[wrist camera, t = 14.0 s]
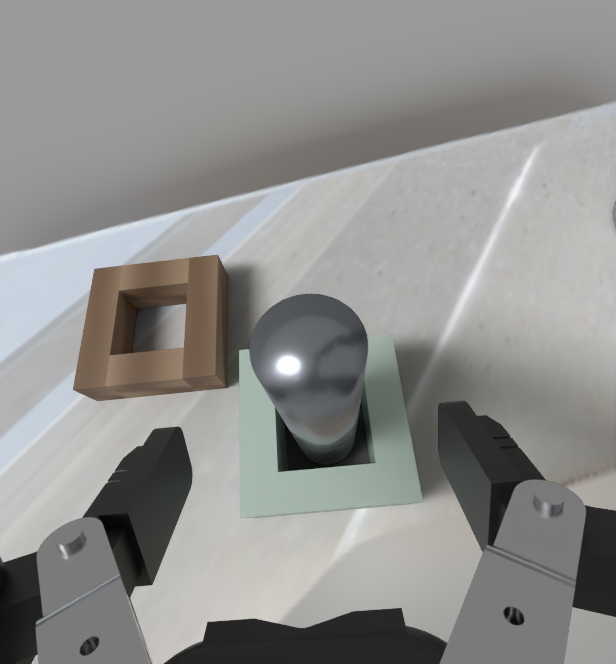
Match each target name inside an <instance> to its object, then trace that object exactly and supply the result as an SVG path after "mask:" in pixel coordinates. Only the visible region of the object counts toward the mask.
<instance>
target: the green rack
mask: <svg viewBox="0 0 616 664" xmlns="http://www.w3.org/2000/svg"><path fill="white" fill-rule="evenodd" d="M367 339H368V356H367V363H366V369H365V376H364V382H363V389H362V396H361V403H362V410H363V417H364V424H365V431H366V439H367V446H368V453H369V460H370V464H361V465H350V466H339V467H328V468H317V469H307V470H296V471H287V455H286V436H285V422H284V420H283V419H282V417H281V416H280V414H279V412H278V411H277V409H276V408H275V406H274V404H273V403H272V401H271V399H270V398H269V396H268V395H267V393H266V391H265V390H264V388H263V386H262V385H261V383H260V382H259V380H258V378H257V377H256V375H255V373H254V371H253V368H252V366H251V361H250V354H249V349H246V350H239V423H240V518H258V517H269V516H281V515H292V514H303V513H315V512H326V511H337V510H349V509H360V508H371V507H383V506H394V505H405V504H413V503H419V502H423V499H422V494H421V488H420V483H419V478H418V472H417V467H416V462H415V456H414V451H413V445H412V440H411V435H410V429H409V424H408V419H407V413H406V408H405V402H404V397H403V392H402V386H401V381H400V375H399V370H398V365H397V359H396V354H395V349H394V343H393V338H392V334H388V335H379V336H369V337H367Z"/></svg>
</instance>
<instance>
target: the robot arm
mask: <svg viewBox="0 0 616 664" xmlns="http://www.w3.org/2000/svg"><path fill="white" fill-rule="evenodd" d="M613 220H614V223H615V226H616V202H615V205H614V209H613ZM438 451H439V457H440V461H441V465H442V467H443V469H444V471H445V474H446V476H447V478H448V480H449V482H450V484H451V486H452V488H453V490H454V493H455V495H456V497H457V499H458V501H459V503H460V505H461V507H462V509H463V512H464V514H465V516H466V518H467V520H468V522H469V524H470V526H471V529H472V531H473V533H474V535H475V537H476V539H477V541H478V543H479V545H480V547H481V550H482V551H483V554H482V557H481V559H480V562H479V564H478V567H477V569H476V572H475V575H474V577H473V580H472V582H471V585H470V588H469V590H468V593H467V595H466V598H465V600H464V603H463V605H462V608H461V610H460V613H459V615H458V618H457V621H456V623H455V626H454V628H453V631H452V633H451V636H450V638H449V641H448V643H446V642H444V641H443V640H441V639H440V638H438V637H436V636H434V635H432V634H430V633H428V632H425V631H422V630H419V629H417V628H413V627H409V626H405V622H404V618H403V613H402V608H398V609H397V608H396V609H382V610H368V611H355V612H351V613H348V614H345V615H342V616H339V617H336V618H333V619H331V620H328V621H325V622H322V623H319V624H316V625H313V626H311V627H307V628H296V627H291V626H287V625H282V624H277V623H272V622H268V621H263V620H258V619H244V620H230V621H216V622H207V627H206V631H205V635H204V639H203V641H201V642H199V643H196V644H194V645H192V646H190V647H188V648H186V649H184V650H183V651H181V652H179V653H178V654H176V655H175V656H173V657H172V658H171V659H169V660H168V661H167V662H165V663H164V664H564V658H565V652H566V645H567V638H568V632H569V625H570V619H571V612H572V607H575V608H579V609H584V610H588V611H592V612H597V613H601V614H605V615H610V616H614V617H616V511H614V510H608V509H601V508H595V507H590V506H586V505H584V504H583V502H582V500H581V499H580V498H579V497H578V496H577V495H576V494H575V493H573V492H572V491H571V490H569V489H567V488H566V487H564V486H561V485H559V484H556V483H554V482H550V481H546V480H545V478H544V477H543V476H542V475H541V473H540V472H539V471H538V470H537V469H536V467H535V466H534V465H533V464H532V462H531V461H530V460H529V459H528V457H527V456H526V455H525V454H524V452H523V451H522V450H521V449H520V448H518V445H517V444H516V442H515V441H514V440H513V439H512V438H510V435H509V434H508V433H507V431H506V430H505V429H504V428H503V426H502V425H501V424H499V423H498V422H496V421H495V420H493V419H491V418H490V417H488V416H486V415H484V416H477V415H476V414H475V413H474V411H473V410H472V409H471V407H470V406H469V404H468V403H467V402H466V401H454V402H444V403H440V404H439V406H438ZM191 485H192V466H191V462H190V459H189V455H188V451H187V447H186V443H185V439H184V435H183V432H182V429H181V428H180V427H169V428H158V429H154V430H153V431H152V432H151V434H150V436H149V437H148V439H147V440H146V442H145V443H144V445H143V446H138V447H136V448H135V449H134V450H133V451H131V452H130V453H129V454H128V455H127V456H125V457H124V458H123V459H122V461H121V462H120V464H119V465H118V467H117V468H116V470H115V473H113V474H112V475H111V477H110V478H109V480H108V483H106V484H105V486H104V487H103V489H102V490H101V491H100V493H99V494H98V496H97V497H96V499H95V500H94V502H93V503H92V505H91V506H90V507H89V509H88V510H87V512H86V513H85V515H84V516H83V518H80V519H77V520H74V521H71V522H69V523H67V524H65V525H63V526H61V527H60V528H58V529H57V530H55V531H54V532H53V533H51V534H50V535H49V536H48V537H47V538H46V539H45V540H44V541H43V543H42V544H41V546H40V547H39V549H38V552H35V553H32V554H29V555H25V556H22V557H19V558H16V559H13V560H10V561H7V562H4V563H3V561H2V559H1V557H0V664H31V663H32V661H33V659H34V657H35V655H37V654H38V662H39V664H153V662H152V659H151V657H150V654H149V651H148V648H147V645H146V642H145V639H144V636H143V634H142V631H141V628H140V625H139V622H138V619H137V616H136V613H135V611H134V608H133V605H132V602H131V599H130V597H131V594H132V592H133V590H134V587H135V586H147V585H152V584H153V582H154V579H155V577H156V574H157V572H158V569H159V567H160V564H161V562H162V559H163V557H164V554H165V552H166V549H167V547H168V544H169V542H170V539H171V537H172V534H173V531H174V529H175V526H176V524H177V521H178V519H179V516H180V514H181V511H182V509H183V506H184V504H185V501H186V499H187V496H188V494H189V491H190V488H191Z"/></svg>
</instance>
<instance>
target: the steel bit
mask: <svg viewBox="0 0 616 664" xmlns="http://www.w3.org/2000/svg"><path fill="white" fill-rule="evenodd" d="M249 354H250V361H251V366H252V368H253V371H254V373H255V375H256V377H257V378H258V380H259V382H260V383H261V385H262V386H263V388H264V390H265V391H266V393H267V395H268V396H269V398H270V399H271V401H272V403H273V404H274V406H275V408H276V409H277V411H278V412H279V414H280V416H281V417H282V419H283V420H284V422H285V424H286V425H287V427H288V429H289V430H290V432H291V433H292V435H293V437H294V438H295V440H296V442H297V443H298V445H299V446H300V448H301V450H302V451H303V453H304V454H305V455H306V456H307V457H308V458H309V459H311V460H312V461H314V462H316V463H319V464H334V463H337V462H339V461H341V460H343V459H344V458H345V457H346V456H347V455H348V454H349V453H350V451H351V450H352V448H353V445H354V441H355V435H356V429H357V422H358V415H359V409H360V402H361V396H362V389H363V382H364V376H365V369H366V363H367V356H368V339H367V334H366V331H365V328H364V326H363V324H362V322H361V320H360V319H359V317H358V316H357V315H356V313H355V312H354V311H353V310H352V309H351V308H349V307H348V306H347V305H346V304H344V303H342V302H341V301H339V300H337V299H334V298H332V297H329V296H325V295H320V294H302V295H296V296H293V297H289V298H287V299H284V300H282V301H280V302H279V303H277V304H275V305H274V306H272V307H271V308H270V309H269V310H268V311H267V312H265V314H264V315H263V316H262V317H261V318H260V320H259V321H258V323H257V324H256V326H255V328H254V330H253V333H252V336H251V340H250V347H249Z"/></svg>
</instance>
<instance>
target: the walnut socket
mask: <svg viewBox="0 0 616 664" xmlns="http://www.w3.org/2000/svg"><path fill="white" fill-rule="evenodd" d="M185 303H187V305H186V322H185V340H184V348H175V349H166V350H156V351H147V352H137V353H132V349H133V341H134V332H135V324H136V315H137V309H140V308H149V307H158V306H167V305H176V304H185ZM227 325H228V275H227V273H226V271H225V269H224V266H223V264H222V262H221V260H220V258H219V256H218V255H211V256H202V257H194V258H185V259H176V260H168V261H159V262H150V263H142V264H133V265H124V266H115V267H107V268H98V269H94V274H93V280H92V285H91V291H90V297H89V302H88V308H87V314H86V319H85V325H84V330H83V336H82V342H81V347H80V353H79V359H78V364H77V370H76V375H75V381H74V387H73V390H75V391H77V392H79V393H81V394H83V395H85V396H87V397H90V398H92V399H94V400H96V401H103V400H113V399H123V398H132V397H142V396H152V395H162V394H172V393H182V392H192V391H201V390H211V389H221V388H227Z"/></svg>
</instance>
